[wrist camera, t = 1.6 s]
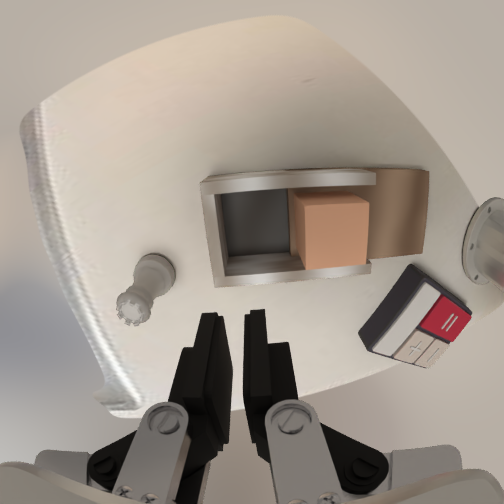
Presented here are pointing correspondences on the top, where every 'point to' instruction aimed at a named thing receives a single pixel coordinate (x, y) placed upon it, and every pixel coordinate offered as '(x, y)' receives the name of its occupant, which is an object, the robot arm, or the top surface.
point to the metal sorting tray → (283, 220)
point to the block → (331, 229)
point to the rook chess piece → (145, 289)
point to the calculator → (415, 320)
